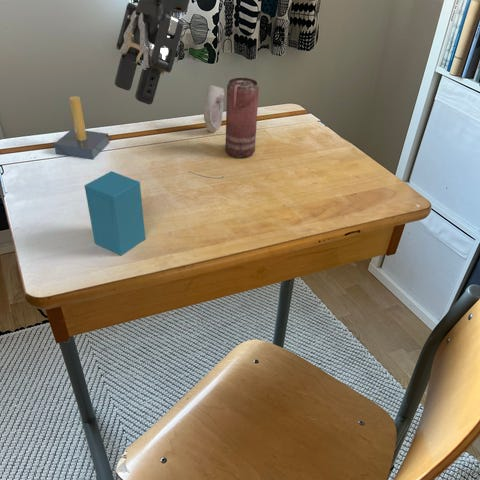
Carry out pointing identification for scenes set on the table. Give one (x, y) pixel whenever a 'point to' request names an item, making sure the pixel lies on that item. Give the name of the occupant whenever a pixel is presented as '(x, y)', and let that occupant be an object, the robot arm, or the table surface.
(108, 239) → the tall teal pillar
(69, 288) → the table surface
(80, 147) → the peg stand
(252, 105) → the can
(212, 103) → the fossil
